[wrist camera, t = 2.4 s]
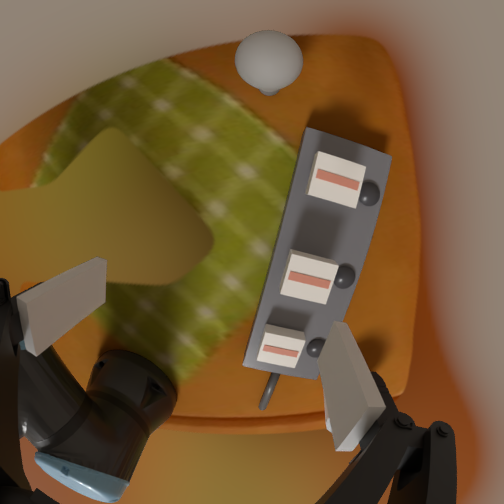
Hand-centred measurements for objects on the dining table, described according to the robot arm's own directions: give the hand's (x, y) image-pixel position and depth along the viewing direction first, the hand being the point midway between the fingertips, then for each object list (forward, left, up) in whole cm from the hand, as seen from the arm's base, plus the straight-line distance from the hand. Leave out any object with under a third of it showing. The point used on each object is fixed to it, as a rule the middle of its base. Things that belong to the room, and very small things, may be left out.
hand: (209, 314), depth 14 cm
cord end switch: (+7, -10, -16) cm, 20 cm away
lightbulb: (-1, +19, -19) cm, 27 cm away
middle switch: (+7, 0, -14) cm, 15 cm away
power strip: (+9, -5, -19) cm, 21 cm away
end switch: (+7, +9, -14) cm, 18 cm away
